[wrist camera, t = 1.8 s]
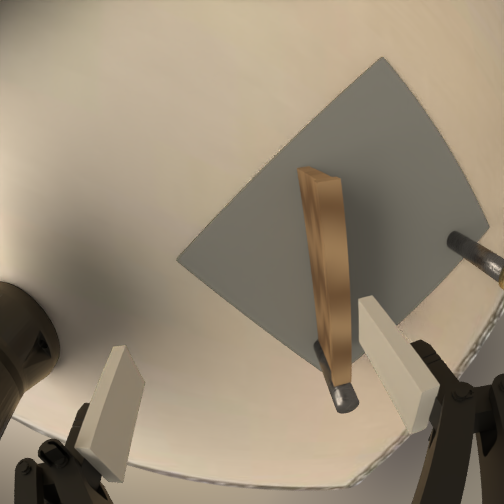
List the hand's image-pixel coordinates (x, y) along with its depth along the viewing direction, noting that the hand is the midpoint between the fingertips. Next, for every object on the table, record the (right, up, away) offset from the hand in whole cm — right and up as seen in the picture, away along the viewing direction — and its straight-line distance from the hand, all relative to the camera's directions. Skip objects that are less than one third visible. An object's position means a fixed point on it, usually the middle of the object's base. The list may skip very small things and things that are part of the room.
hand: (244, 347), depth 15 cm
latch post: (+25, +6, +19) cm, 32 cm away
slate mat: (+12, +6, +18) cm, 23 cm away
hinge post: (+9, -6, +23) cm, 26 cm away
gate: (+7, +4, +18) cm, 19 cm away
